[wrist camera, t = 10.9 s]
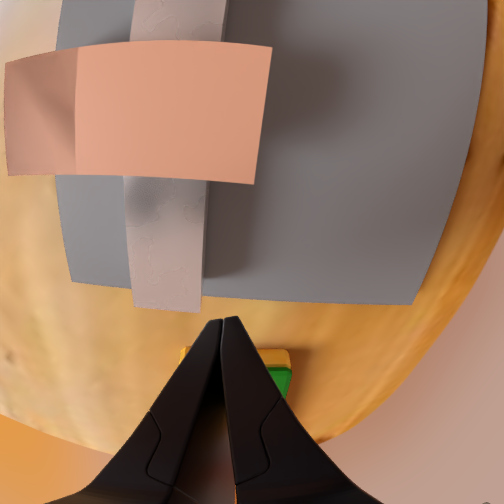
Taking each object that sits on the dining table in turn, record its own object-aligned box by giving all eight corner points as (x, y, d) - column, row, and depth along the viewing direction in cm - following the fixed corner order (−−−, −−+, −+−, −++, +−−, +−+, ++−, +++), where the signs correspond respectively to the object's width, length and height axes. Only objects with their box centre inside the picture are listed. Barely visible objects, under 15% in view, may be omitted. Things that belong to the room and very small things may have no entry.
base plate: (99, -93, 6) (92, -100, 5) (475, -25, 8) (486, -28, 7) (78, 271, 16) (72, 281, 15) (405, 295, 18) (411, 305, 17)
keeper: (63, 61, 10) (5, 62, 6) (260, 59, 11) (272, 47, 7) (61, 146, 12) (8, 175, 8) (248, 153, 13) (253, 184, 9)
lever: (153, -96, 6) (135, -129, 3) (271, -95, 6) (281, -132, 4) (126, 276, 15) (107, 319, 12) (224, 285, 16) (222, 330, 13)
